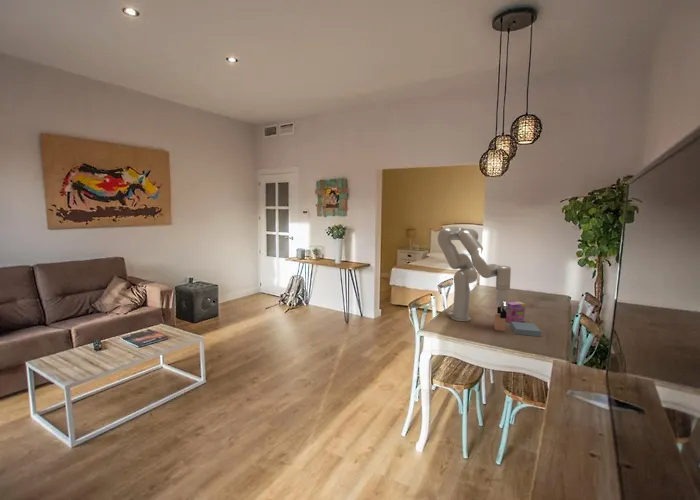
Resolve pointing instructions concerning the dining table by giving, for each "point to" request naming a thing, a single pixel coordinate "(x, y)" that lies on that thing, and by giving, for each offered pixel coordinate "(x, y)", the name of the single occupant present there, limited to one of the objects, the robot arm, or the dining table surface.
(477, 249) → the robot arm
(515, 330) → the base
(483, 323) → the dining table surface
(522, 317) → the box
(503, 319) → the block
